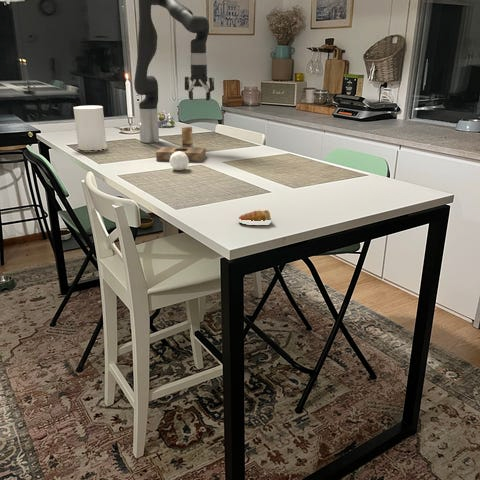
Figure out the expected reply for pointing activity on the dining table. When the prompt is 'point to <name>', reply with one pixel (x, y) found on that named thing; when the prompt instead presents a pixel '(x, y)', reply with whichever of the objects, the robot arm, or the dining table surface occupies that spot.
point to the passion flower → (164, 119)
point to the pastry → (256, 216)
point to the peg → (187, 137)
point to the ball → (179, 160)
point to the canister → (90, 127)
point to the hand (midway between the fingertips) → (199, 100)
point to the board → (191, 152)
